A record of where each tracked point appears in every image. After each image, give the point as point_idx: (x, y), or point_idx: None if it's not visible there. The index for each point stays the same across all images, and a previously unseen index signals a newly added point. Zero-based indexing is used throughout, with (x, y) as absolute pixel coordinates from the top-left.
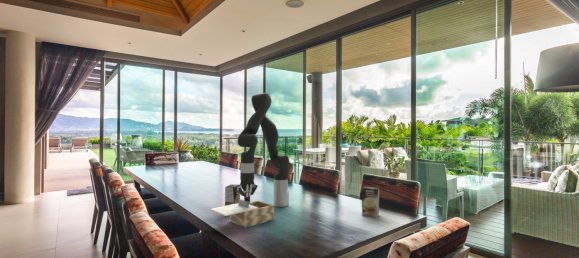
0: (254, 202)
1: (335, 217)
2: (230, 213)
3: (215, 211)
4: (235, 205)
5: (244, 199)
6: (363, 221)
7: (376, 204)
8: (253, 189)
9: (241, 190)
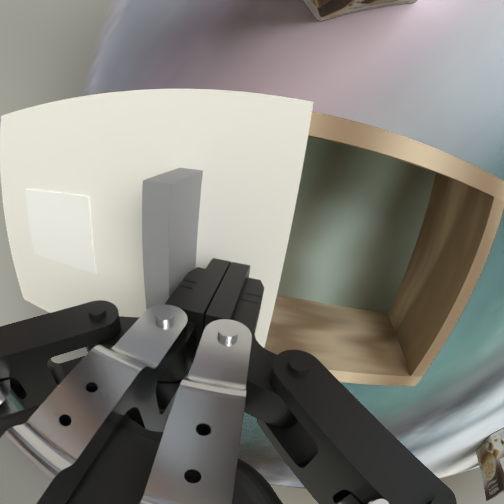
0: (459, 180)
1: (471, 422)
2: (42, 304)
3: (4, 184)
4: (143, 160)
5: (175, 294)
6: (445, 457)
7: (482, 473)
8: (309, 482)
9: (25, 404)
